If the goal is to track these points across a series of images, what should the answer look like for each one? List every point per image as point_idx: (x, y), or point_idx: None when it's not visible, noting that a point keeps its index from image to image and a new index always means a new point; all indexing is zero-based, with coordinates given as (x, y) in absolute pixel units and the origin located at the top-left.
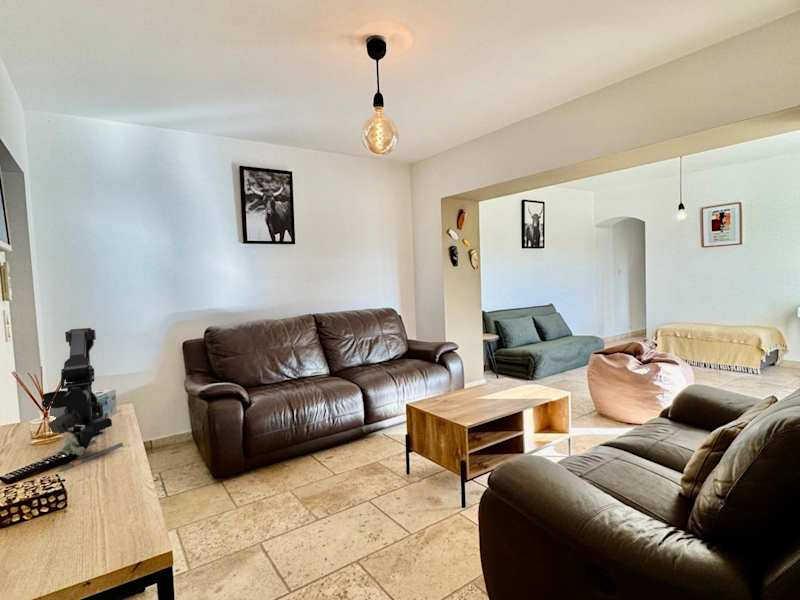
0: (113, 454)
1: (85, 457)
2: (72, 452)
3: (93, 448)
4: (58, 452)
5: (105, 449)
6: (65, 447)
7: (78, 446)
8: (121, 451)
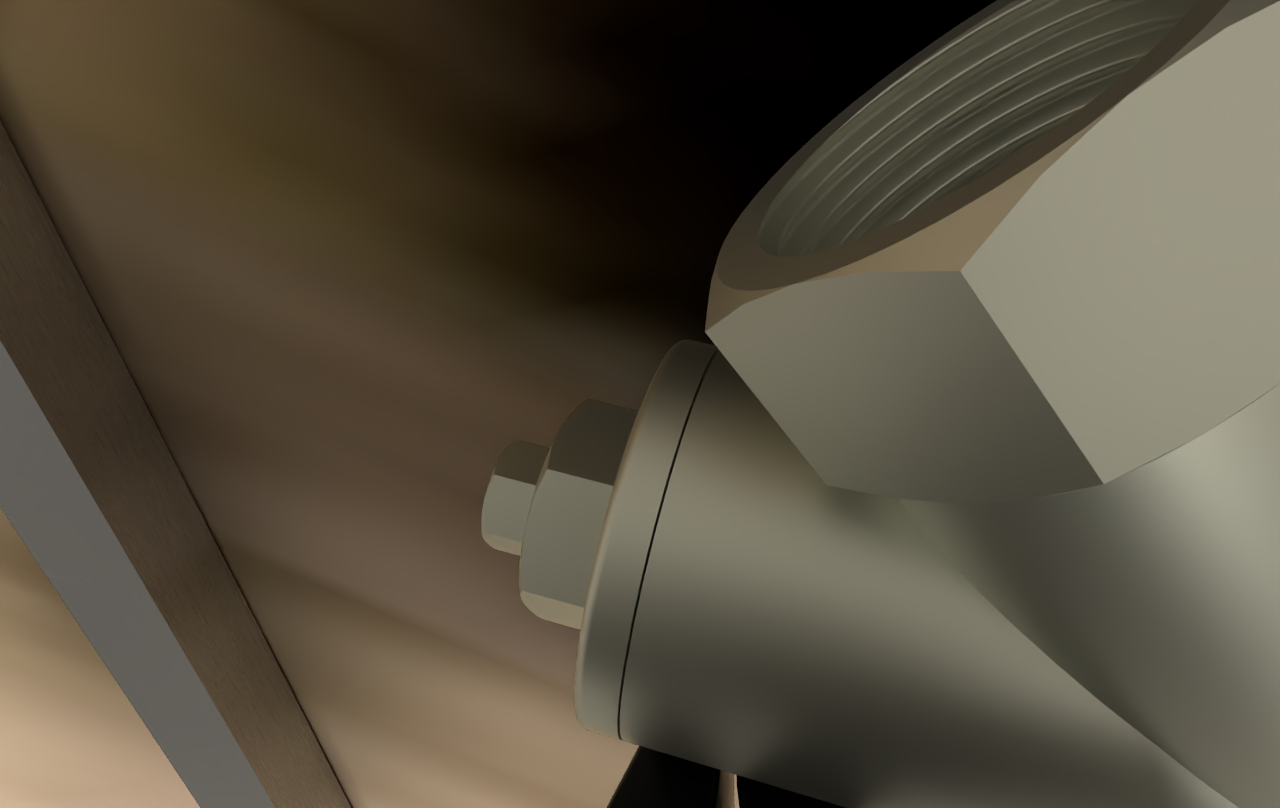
0: (7, 682)
1: (5, 349)
2: (716, 416)
3: None
4: (1148, 63)
5: (220, 775)
6: (1108, 511)
7: (674, 716)
8: (60, 786)
